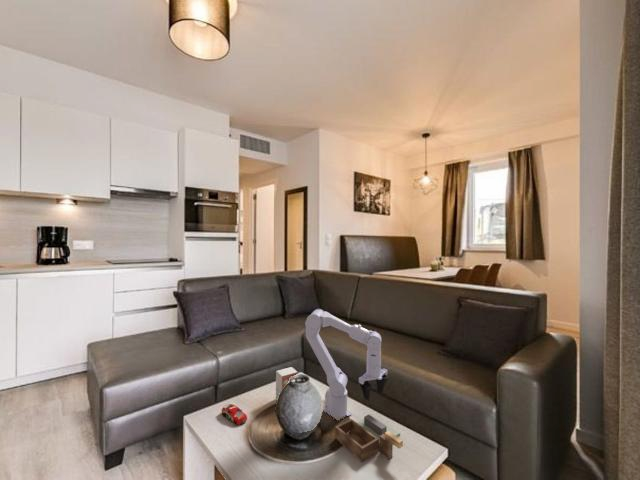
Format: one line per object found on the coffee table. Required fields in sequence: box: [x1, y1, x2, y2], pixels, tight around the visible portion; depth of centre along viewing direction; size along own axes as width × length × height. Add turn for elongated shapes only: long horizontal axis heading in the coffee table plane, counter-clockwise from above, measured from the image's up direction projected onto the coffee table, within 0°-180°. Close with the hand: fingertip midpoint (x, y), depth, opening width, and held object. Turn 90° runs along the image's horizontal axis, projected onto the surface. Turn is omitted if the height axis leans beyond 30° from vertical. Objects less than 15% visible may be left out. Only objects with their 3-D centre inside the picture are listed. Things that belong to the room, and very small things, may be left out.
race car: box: [221, 403, 248, 426], centre depth 123 cm, size 13×5×4 cm, turn 48°
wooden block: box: [385, 431, 404, 449], centre depth 101 cm, size 6×2×2 cm, turn 37°
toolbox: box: [334, 418, 394, 463], centre depth 107 cm, size 18×10×6 cm, turn 37°
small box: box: [275, 366, 299, 400], centre depth 137 cm, size 8×6×13 cm
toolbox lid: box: [356, 414, 401, 447], centre depth 114 cm, size 14×10×5 cm
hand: (373, 396), depth 123 cm, fingers open, 7 cm apart
